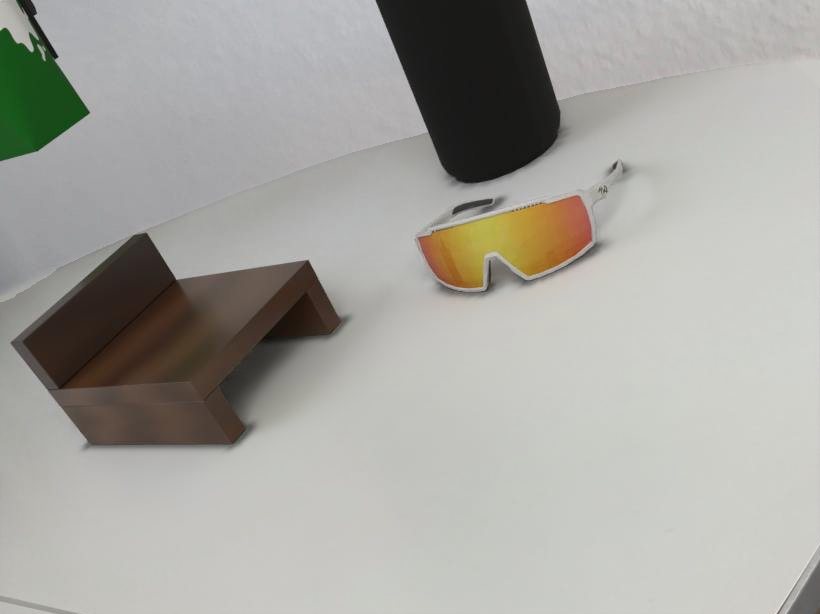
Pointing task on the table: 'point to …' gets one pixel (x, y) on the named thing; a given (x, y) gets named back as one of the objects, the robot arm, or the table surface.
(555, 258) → the sunglasses
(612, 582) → the table surface
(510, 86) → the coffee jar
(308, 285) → the stand
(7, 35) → the milk carton
